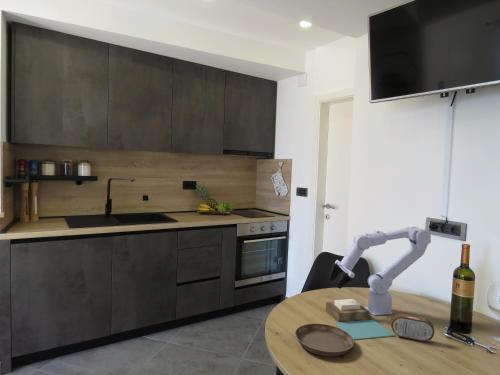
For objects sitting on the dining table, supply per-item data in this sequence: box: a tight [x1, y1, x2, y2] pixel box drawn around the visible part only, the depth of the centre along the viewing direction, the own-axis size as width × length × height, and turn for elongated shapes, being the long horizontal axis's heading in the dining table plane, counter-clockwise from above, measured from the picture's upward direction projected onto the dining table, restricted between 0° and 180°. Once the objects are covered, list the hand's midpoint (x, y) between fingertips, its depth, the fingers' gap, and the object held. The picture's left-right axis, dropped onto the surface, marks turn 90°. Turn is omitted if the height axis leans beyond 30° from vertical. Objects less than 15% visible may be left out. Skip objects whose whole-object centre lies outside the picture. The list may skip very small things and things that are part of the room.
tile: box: [334, 298, 361, 310], centre depth 146 cm, size 9×6×2 cm, turn 103°
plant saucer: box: [294, 323, 355, 357], centre depth 121 cm, size 21×21×3 cm
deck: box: [325, 301, 370, 322], centre depth 146 cm, size 14×12×4 cm
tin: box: [390, 313, 435, 343], centre depth 127 cm, size 15×3×8 cm, turn 71°
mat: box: [334, 319, 396, 341], centre depth 134 cm, size 18×14×1 cm
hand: (334, 283), depth 152 cm, fingers open, 7 cm apart
